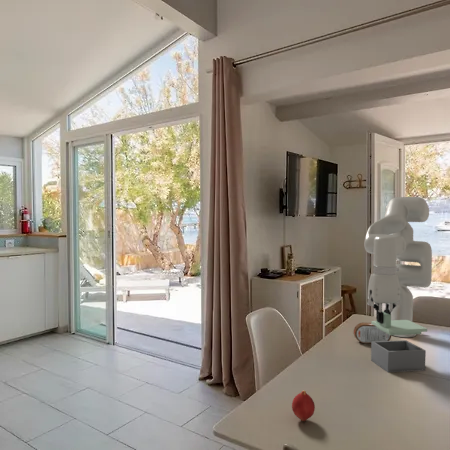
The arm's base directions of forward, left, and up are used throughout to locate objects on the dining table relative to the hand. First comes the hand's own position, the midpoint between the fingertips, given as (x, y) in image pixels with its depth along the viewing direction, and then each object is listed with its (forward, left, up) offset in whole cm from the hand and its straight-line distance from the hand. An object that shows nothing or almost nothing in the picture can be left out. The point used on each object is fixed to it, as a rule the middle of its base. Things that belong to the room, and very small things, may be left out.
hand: (383, 322), depth 139 cm
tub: (-6, 0, -16) cm, 17 cm away
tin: (-10, -24, -16) cm, 30 cm away
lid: (-6, 0, -3) cm, 7 cm away
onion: (+41, +32, -16) cm, 55 cm away
